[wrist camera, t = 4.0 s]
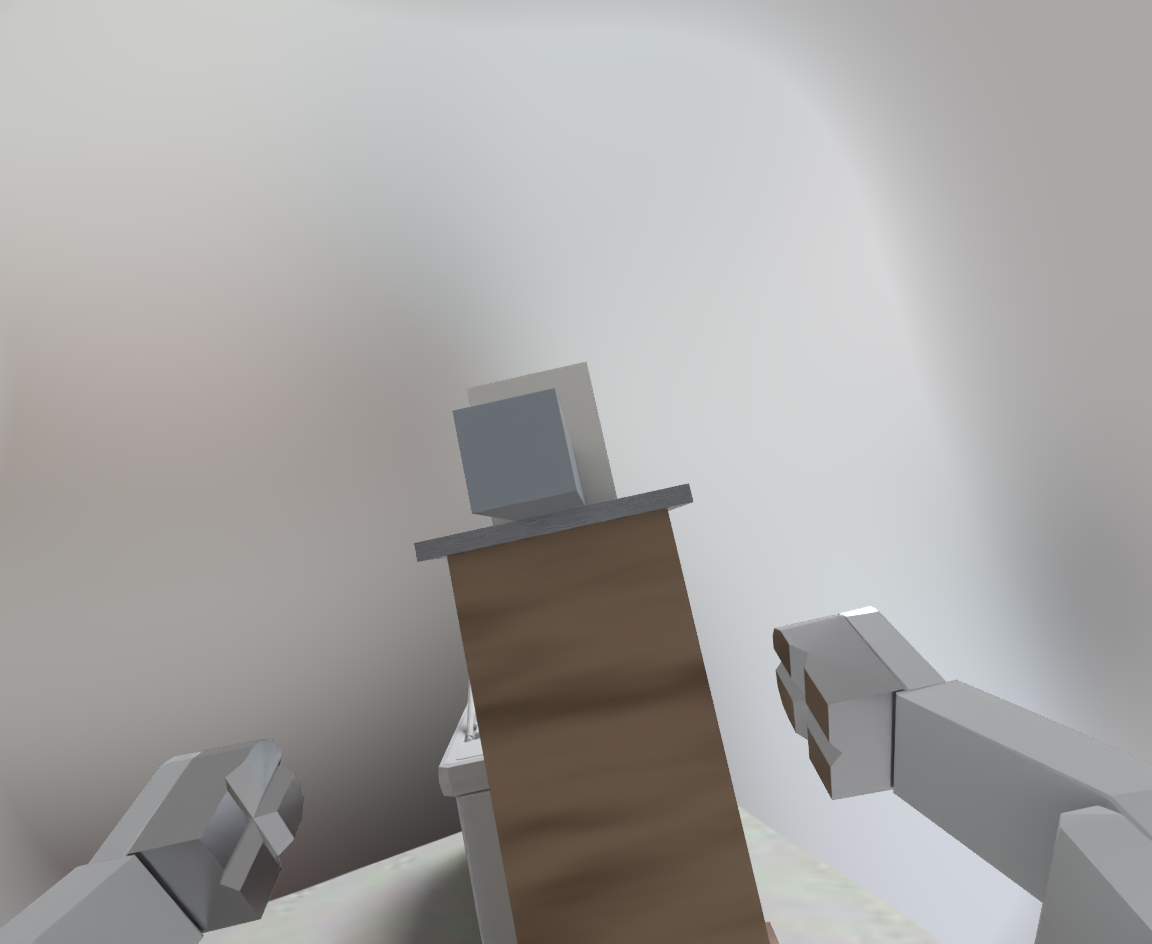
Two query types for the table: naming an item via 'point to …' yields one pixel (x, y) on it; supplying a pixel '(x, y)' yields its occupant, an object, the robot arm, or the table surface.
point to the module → (534, 446)
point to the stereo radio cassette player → (478, 828)
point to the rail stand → (601, 729)
